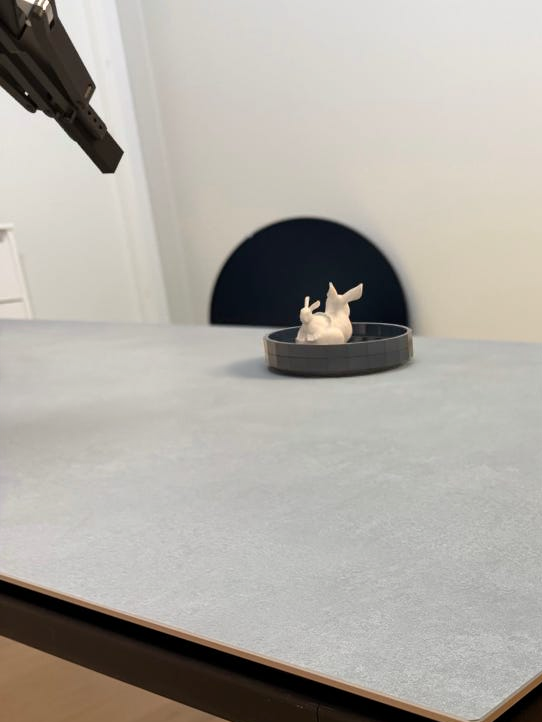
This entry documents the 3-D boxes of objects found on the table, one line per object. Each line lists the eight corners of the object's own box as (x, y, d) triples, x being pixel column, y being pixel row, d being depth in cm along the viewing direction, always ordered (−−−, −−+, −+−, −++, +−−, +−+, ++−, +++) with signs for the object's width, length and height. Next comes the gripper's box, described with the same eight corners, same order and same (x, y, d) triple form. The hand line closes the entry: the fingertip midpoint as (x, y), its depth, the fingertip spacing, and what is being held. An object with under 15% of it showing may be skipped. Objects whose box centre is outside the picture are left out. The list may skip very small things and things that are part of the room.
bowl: (237, 373, 122) (233, 341, 120) (318, 349, 137) (315, 320, 136) (367, 382, 115) (365, 347, 113) (437, 355, 130) (436, 325, 129)
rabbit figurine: (346, 350, 131) (340, 275, 127) (387, 354, 127) (382, 277, 123) (281, 364, 123) (273, 284, 118) (324, 369, 118) (316, 286, 114)
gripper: (-159, -33, 76) (50, 194, 97) (-42, -51, 71) (151, 191, 92) (-117, -100, 78) (78, 136, 99) (-2, -123, 73) (178, 131, 94)
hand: (113, 162), depth 95 cm, fingers closed
